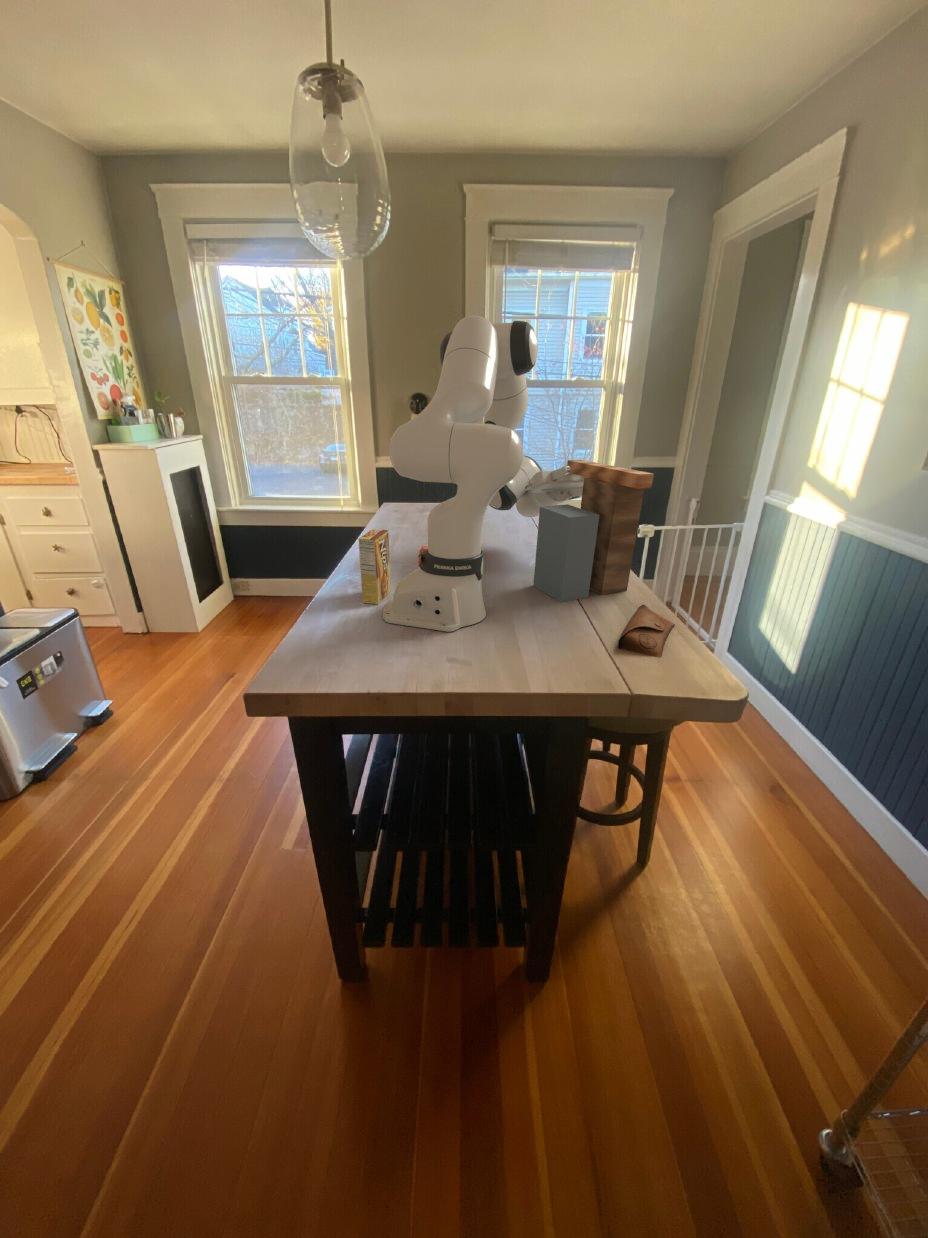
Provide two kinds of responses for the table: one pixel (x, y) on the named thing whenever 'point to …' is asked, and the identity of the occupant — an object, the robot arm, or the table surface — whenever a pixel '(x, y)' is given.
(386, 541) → the candy box
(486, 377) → the robot arm
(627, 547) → the tall stand
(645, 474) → the bar
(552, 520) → the low stand
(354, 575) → the table surface
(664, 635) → the sunglasses case
